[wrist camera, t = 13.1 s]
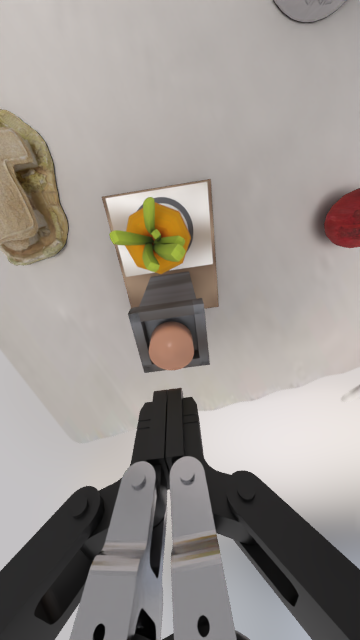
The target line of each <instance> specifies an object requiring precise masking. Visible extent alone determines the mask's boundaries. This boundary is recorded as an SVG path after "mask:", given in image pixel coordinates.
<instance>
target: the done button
mask: <svg viewBox="0 0 360 640" xmlns="http://www.w3.org/2000/svg"><path fill="white" fill-rule="evenodd" d="M149 356H150V359H151V360H152V362H153V363H154V364H155V365H156V366H158V367H160V368H162V369H165V370H178V369H181V368H183V367H185V366H187V365H188V364H189V363H190V362H191V360H192V358H193V356H194V346H193V340H192V334H191V332H190V330H189V329H188V328H187V327H186V326H185V325H183V324H181V323H179V322H174V321H170V322H165V323H162V324H160V325H158V326H157V327H156V328H155V329H154V331H153V333H152V335H151V341H150V346H149Z"/></svg>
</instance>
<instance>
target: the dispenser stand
mask: <svg viewBox="0 0 360 640" xmlns="http://www.w3.org/2000/svg"><path fill="white" fill-rule="evenodd" d="M148 197H152V198H154V201H155V202H156V203H158V204H161V205H164V206H166V207H169V208H172V209H174V210H177V211H180V213H181V216H182V218H183V220H184V222H185V225H186V227H187V229H188V231H189V234H190V236H191V240H190V243H189V246H188V249H187V252H186V255H185V258H184V261H183V263H182V264H180V265H178V266H176V267H174V268H172V269H170V270H169V271H167V272H165V273H163V274H159V273H155V272H152V271H149V270H146V269H143V268H140V267H137V265H136V264H135V262H134V260H133V259H132V257H131V255H130V254H129V252H128V250H127V248H126V247H125V245H116V244H114V245H115V248H116V252H117V256H118V260H119V263H120V267H121V271H122V275H123V278H124V282H125V286H126V289H127V293H128V297H129V301H130V304H131V309H130V311H129V313H128V315H129V319H130V323H131V326H132V330H133V333H134V337H135V340H136V344H137V348H138V351H139V355H140V358H141V362H142V366H143V369H144V373H147V372H155V371H163V370H165V369H162V368H160V367H158V366H156V365H155V364H154V363H153V362H152V360H151V359H150V356H149V346H150V341H151V335H152V333H153V331H154V329H155V328H156V327H157V326H158V325H160V324H162V323H165V322H170V321H174V322H179V323H181V324H183V325H185V326H186V327H187V328H188V329H189V330H190V332H191V334H192V340H193V346H194V356H193V358H192V360H191V362H190V363H189V364H188V365H187V366H185V367H183V368H186V367H194V366H202V365H210V363H209V352H208V342H207V332H206V321H205V311H204V309H205V308H212V307H219V305H218V289H217V273H216V257H215V242H214V226H213V210H212V194H211V179H208V180H202V181H196V182H190V183H184V184H178V185H172V186H165V187H159V188H153V189H147V190H141V191H135V192H129V193H123V194H117V195H111V196H105V197H102V200H103V203H104V207H105V211H106V215H107V218H108V222H109V226H110V230H111V232H112V231H114V230H119V231H126V229H127V224H128V219H129V216H130V215H132V214H133V213H135V212H137V211H138V210H140V209H142V208H143V202H144V201H145V199H146V198H148Z"/></svg>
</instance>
